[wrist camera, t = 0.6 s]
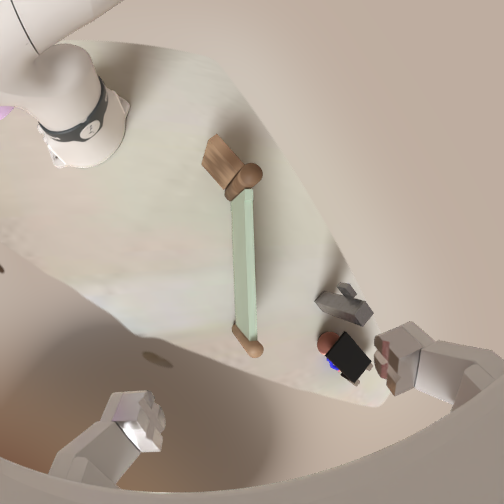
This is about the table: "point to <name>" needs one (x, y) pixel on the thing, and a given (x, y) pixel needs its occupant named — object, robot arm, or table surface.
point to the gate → (244, 273)
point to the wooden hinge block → (229, 168)
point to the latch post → (345, 305)
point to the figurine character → (344, 355)
